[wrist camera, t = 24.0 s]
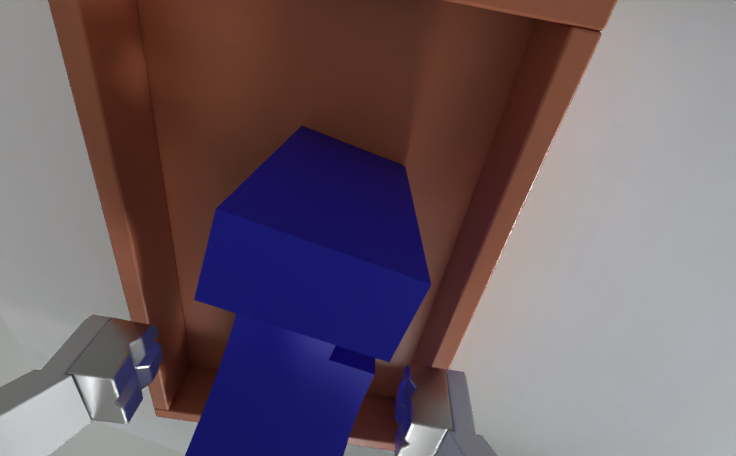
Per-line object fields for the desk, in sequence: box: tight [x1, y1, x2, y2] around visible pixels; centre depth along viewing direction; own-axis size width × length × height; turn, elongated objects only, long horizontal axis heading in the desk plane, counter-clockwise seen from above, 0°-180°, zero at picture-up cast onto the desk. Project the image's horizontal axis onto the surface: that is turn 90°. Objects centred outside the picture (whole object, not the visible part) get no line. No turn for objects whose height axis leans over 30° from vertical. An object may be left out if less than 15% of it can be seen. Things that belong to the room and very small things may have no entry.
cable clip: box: [185, 126, 431, 456], centre depth 10 cm, size 12×4×6 cm, turn 158°
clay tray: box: [48, 0, 617, 451], centre depth 12 cm, size 16×10×2 cm, turn 171°
